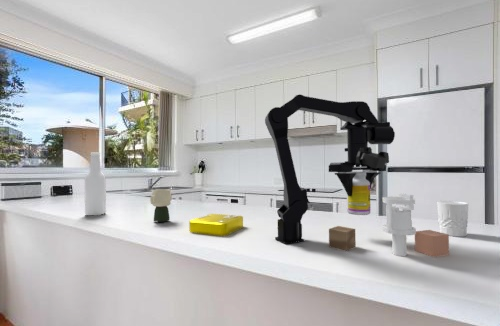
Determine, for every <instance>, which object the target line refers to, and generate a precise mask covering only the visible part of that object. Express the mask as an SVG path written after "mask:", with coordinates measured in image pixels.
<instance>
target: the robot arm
mask: <svg viewBox="0 0 500 326" xmlns="http://www.w3.org/2000/svg"><path fill="white" fill-rule="evenodd" d="M298 111H303V112H308V113H312V114H313V113H315V114H319V115H325V116H331V117H335V118H337V119H339V120H340V121H343V122H345V123H344V124H343V125H342V126H340V128H339V129H340V131H346V132H347V137H346V139H347V143H346V144H347V147H344V152H347V160H346V161H344V162H341V161H340V162H330V164H329V165H328V173H334V175H335V176H337V178H338V180H339V181H340V183H341V185H342V186H343V189H344V191H345V192H346V196H347V195H348V196H352V187H353V178H354V176H355V175H356V173H353V171H362V172H366V180H368V181H369V182H370V189H372V184H373V182H374V180H375V178H376V177H377V176H378V175H380V174H381V172H387V165H386V164H388V163H389V162H390V157H389V152H386V151H379V152H378V153H375V152H373V149H372V147H370V146H369V144H370V145H391V144H392V143H393V142H394V139H395V137H396V133H395V130H394V128H393V127H392V126H391V122H390V121H385V122H379V120H378V119H377V117H376V116H375V115H374V113H373V112H372V110H371V108H370V106H369V104H368V103H367V102H366V101H360V100H359V101H357V100H356V101H355V100H353V101H344V102H342V101H333V100H328V99H324V98H318V97H311V96H308V95H307V96H306V95H303V94H295V96H294V97H293V98H291V99H290V100H289V101H287V102H286V103H284V104H283V105H281V106H280V107H278V106H277V107H276V106H275V107H273V108H271V109H270V110H269V111H268V113H267V115H266V116H265V118H264V124H265V126H266V129H267V130H268V133H269V135H270V136H271V139H272V140H273V143H274V149H275V151H276V156H277V157H276V158H277V159H278V161H277V162H278V165H279V170H280V174H281V178H282V183H283V193H282V194H283V204H282V205H281V206H280V207H279V208H278V209H277V210H276V213H277V216H278V218H279V219H277V236H275V237H274V239H275V240H276V241H278V242H280V243H283V244H286V245H291V244H294V243H295V244H296V243H302V242H305V238H303V225H302V222H301V221H302V218H303V216H304V215H305V213H306V212H307V211H308V209H309V204H310V200H309V199H308V191H307V189H306V188H304V187H301V186H300V184H299V183H298V178H297V174H296V173H297V172H296V170H295V169H296V168H295V165H294V161H293V156H292V152H291V148H290V143H289V139H288V137H289V136H288V133H289V132H288V131H289V117H291V116H292V115H294V114H295V113H297V112H298ZM368 143H369V144H368Z"/></svg>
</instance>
